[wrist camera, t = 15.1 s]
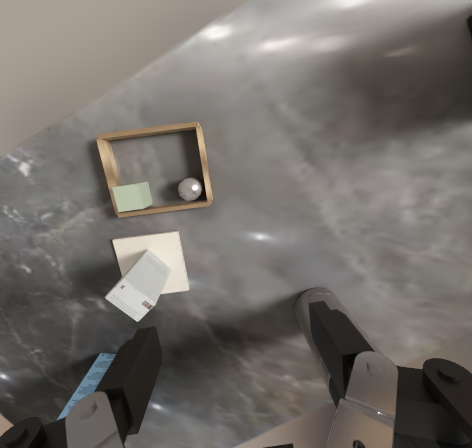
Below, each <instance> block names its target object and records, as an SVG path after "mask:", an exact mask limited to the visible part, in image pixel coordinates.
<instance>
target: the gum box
mask: <svg viewBox="0 0 472 448" xmlns="http://www.w3.org/2000/svg"><path fill="white" fill-rule="evenodd" d="M115 355H116V354H110V353H100V354H99V356H98V358H97V359H96V361H95V362H94V364H93V365H92V367H91V368H90V370H89V371H88V373H87V374H86V376H85V377H84V379H83V380H82V382H81V383H80V385H79V387H78V388H77V390H76V391H75V393H74V394H73V396H72V397H71V399H70V400H69V402H68V403H67V405H66V406H65V408H64V409H63V411H62V412H61V414H60V415H59V417H58V418H57V420H59V419H61V418H64V417H66V416H67V414H68V412H69V411H70V409H71V408H72V407H73V406H74V405H75V404H76V403H77V402H78V401H79V400H80V399H82V398H83V397H85V396H87V395H89V394H91V393H93V392H94V391H95V389H96V387H97V385H98V384H99V382H100V380H101V379H102V377H103V375H104V374H105V372H106V370H107V369H108V367H109V366H110V364H111V362H112V360H113V359H114V358H115ZM57 420H56V421H57Z"/></svg>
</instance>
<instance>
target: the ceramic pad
mask: <svg viewBox="0 0 472 448" xmlns="http://www.w3.org/2000/svg"><path fill="white" fill-rule="evenodd" d="M113 244H114V248H115V252H116V255H117V259H118V263H119V267H120V271H121V274H122V277H123V276H124V274H125V273H126V272H127V271H128V270H129V269H130V268H131V267H132V265H133V264H134V263H135V262H136V261H137V260H138V259H139V258H140V257H141V255H142V254H143V253H144V252H145V251H146V250H149V251H151V252H152V253H153V254H154V255H155V256H157V257H158V258H159V259H160V260H161V261H163V262H164V263H165V264H166V265H167V266H168V267H170V268H171V272H170V274H169V276H168V278H167V281H166V283H165V285H164V287H163V289H162V291H161V293H160V294H165V293H172V292H180V291H188V290H189V283H188V278H187V273H186V267H185V262H184V257H183V252H182V246H181V241H180V236H179V231H171V232H163V233H155V234H147V235H140V236H132V237H124V238H117V239H113Z"/></svg>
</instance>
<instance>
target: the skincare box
mask: <svg viewBox="0 0 472 448" xmlns="http://www.w3.org/2000/svg"><path fill="white" fill-rule="evenodd" d="M170 272H171V268H170V267H168V266H167V265H166V264H165V263H164V262H163V261H161V260H160V259H159V258H158V257H157V256H155V255H154V254H153V253H152V252H151V251H149V250H146V251H145V252H144V253H143V254H142V255H141V257H140V258H139V259H138V260H137V261H136V262H135V263H134V264H133V265H132V267H131V268H130V269H129V270H128V271H127V272H126V273H125V274H124V276H123V277H122V278H121V279H120V280H119V281H118V283H117V284H116V285H115V286H114V287H113V288H112V290H111V291H110V292H109V293H108V294H107V295H106V296H105V298H106V299H107V300H108V301H110V302H111V303H113V304H114V305H115V306H117V307H118V308H119V309H121V310H122V311H123V312H125V313H126V314H127V315H129V316H130V317H131V318H133V319H134V320H136V321H137V322H138V321H139V320H140V319H141V318H142V317H143V316H144V315H145V314H146V313H147V312H148V311H149V310H150V309H151V308H152V307H154V306H155V305H156V302H157V300H158V298H159V296H160V293H161V291H162V289H163V287H164V285H165V283H166V281H167V278H168V276H169V274H170Z"/></svg>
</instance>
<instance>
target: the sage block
mask: <svg viewBox="0 0 472 448" xmlns="http://www.w3.org/2000/svg"><path fill="white" fill-rule="evenodd" d="M112 189H113V193H114V197H115V201H116V205H117V209H118V212H123V211H131V210H138V209H144V208H146V207H148V206H150V205H151V204H153V203H152V199H151V194H150V190H149V185H148V182H141V183H134V184H127V185H121V186H116V187H112Z"/></svg>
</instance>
